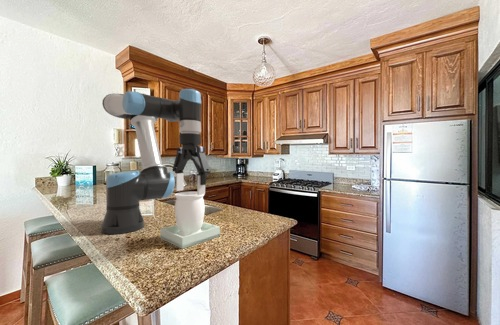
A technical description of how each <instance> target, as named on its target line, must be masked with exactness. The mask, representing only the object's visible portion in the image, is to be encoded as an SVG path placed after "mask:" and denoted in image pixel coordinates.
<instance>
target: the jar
mask: <svg viewBox="0 0 500 325" xmlns="http://www.w3.org/2000/svg"><path fill="white" fill-rule="evenodd" d="M205 194H206V193H205ZM205 194H202V195H197V191H194V190H193V191H191V190H190V191H181V192H180V191H179V192H177V193H175V194H174V197H175V198H176V201H175V204H174V215H175V220H176V221H175V222H176V223H175V224H176V225H177V227H178V229H179V230H180V231H179V233H178V235H180V236H183V237H184V236H188V235H191V234H194V233H198V232H201V227H202V224H203V222H204V218H205V212H206V211H205V210H206V208H205V200H204V196H205Z"/></svg>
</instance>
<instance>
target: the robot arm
mask: <svg viewBox="0 0 500 325" xmlns="http://www.w3.org/2000/svg"><path fill="white" fill-rule="evenodd" d="M201 95H202V94H201V92H200V91H198V90H197V89H194V88H183V89H180V90H179V96H178V99H176V100H173V99H169V98H164V97H159V96H154V95H150V94H146V93H143V92H142V93H141V92H138V91H130V90H128V91H125V93H108V94H107V95H105V96H104V97H103V99H102V108H103V109H104V111H105V112H106V113H107V114H109V115H111V116H113V117H116V118H118V119H124V120H130V124H131V126H132V127H134V131H135V134H136V139H137V145H138V149H139V156H140V159H141V164H142V169H141V170H140V171H139V170H127V171H121V172H120V171H119V172H115V173H111V174H109V175H108V176H107V177H106V184H105V188H106V189H105V190H106V199H105V200H106V212H105V214H104V217H103V220H102V222H101V226H100V228H101V229H100V231H101V233H102V234H104V235H105V234H106V235H109V234H110V235H118V234H119V235H121V234H126V233H132V232H135V231H139V230H141V229H142V228H144V227H145V220H144V217H143V215H142V211H141V209H140V202H141V201H149V200H150V201H151V200H157V199H160V200H162V199H163V198H168V197H170V196H171V195H172V194H173V193H174V190H175V191H176V192H178V191H179V192H180V191H181V192H182V191H184V189H185V186H184V179H185V177H184V175H185V174H184V169H185V167H186V165H187V163H188V161H192V163H193V165H194V167H195V169H196V171H197V173H198V174H197V185H196V186H197V187H196V189H197V195H202V194H206V184H207V175H208V174H211V168H210V166H209V162H208V159H207V156H206V152H205V151H206V150H205V146H200V145H202V135H201V133H202V96H201ZM158 119H163V120H165V121H168V122H170V123H171V122H175V123H177V122H179V123H178V126H179V133H180V134H179V136H178V137H179V139H178V140H179V141H178V143H179V145H181V146H182V147H177V148H176V154H175V159H174V163H173V166H172V172H168V168H167V166H166V165H164V164H163V161H162V157H161V156H162V155H161V151H160V149H159V147H160V146H159V143H158V140H157V139H158V138H157V134H156V130H155V124H156V123H157V121H158ZM173 172H174V173H175V174H174V173H173ZM174 175H175V176H174Z"/></svg>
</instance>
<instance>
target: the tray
mask: <svg viewBox="0 0 500 325" xmlns="http://www.w3.org/2000/svg"><path fill="white" fill-rule="evenodd" d="M159 230H160V231H159V232H160V233H159V234H160V236H159V237H160V239H161V240H163V241H164V242H167V243H169V244H171V245H173V246H175V247H177V248H180V249H181V250H184V249H187V248H189V247H190V248H191V247H193V246H195V245H198V244H199V245H200V244H202V243H205V242H207V241H210V240H213V239H216V238H219V237H220V236H221V227H220V226H219V225H216V224H213V223H212V224H211V223H210V222H209V223H208V222H205V221H203V224H202V227H201V232H198V233H194V234H191V235H188V236H184V237H183V236H180V235H178V233H179V231H180V230H179V229H178V227H177V224H174V225H170V226H166V227H162V228H160V229H159Z"/></svg>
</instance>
